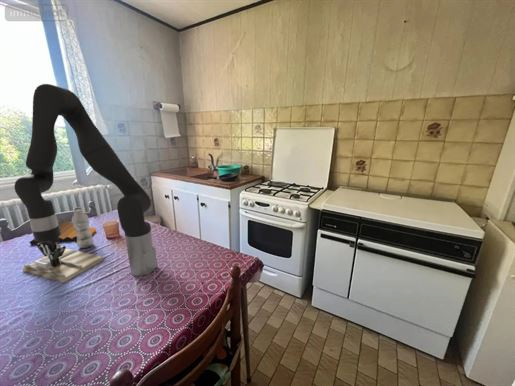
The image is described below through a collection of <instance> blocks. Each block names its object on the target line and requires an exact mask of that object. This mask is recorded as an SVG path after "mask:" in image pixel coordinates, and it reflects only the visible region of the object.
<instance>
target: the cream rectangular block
mask: <svg viewBox="0 0 515 386" xmlns="http://www.w3.org/2000/svg"><path fill="white" fill-rule="evenodd" d="M59 261H60V258H59ZM34 262H35V264H36V267H39V268H42V269H46V270H50V269H52V268H54V267H52V266H51V262H50V259H48V257H47V256H46V257H41V258H39V259H38V260H35V261H34ZM60 264H61V262H60Z"/></svg>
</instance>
